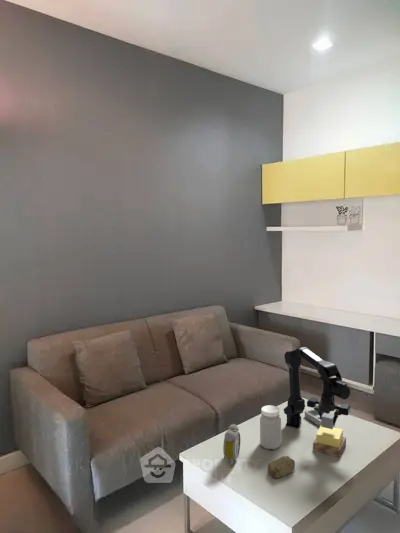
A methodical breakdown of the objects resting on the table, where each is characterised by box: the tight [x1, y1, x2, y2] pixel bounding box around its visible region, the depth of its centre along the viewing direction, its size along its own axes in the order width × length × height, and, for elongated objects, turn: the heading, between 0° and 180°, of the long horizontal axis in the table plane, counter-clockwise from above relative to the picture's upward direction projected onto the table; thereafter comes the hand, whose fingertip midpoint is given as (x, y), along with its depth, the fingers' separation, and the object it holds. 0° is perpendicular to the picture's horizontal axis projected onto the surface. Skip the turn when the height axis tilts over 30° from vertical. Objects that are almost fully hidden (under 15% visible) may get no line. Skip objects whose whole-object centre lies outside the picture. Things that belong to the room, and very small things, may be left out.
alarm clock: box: [222, 423, 241, 467], centre depth 181 cm, size 12×7×15 cm, turn 161°
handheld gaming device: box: [304, 408, 321, 427], centre depth 215 cm, size 9×15×4 cm, turn 24°
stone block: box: [267, 455, 296, 479], centre depth 172 cm, size 6×12×5 cm, turn 124°
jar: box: [259, 404, 282, 450], centre depth 192 cm, size 10×10×18 cm
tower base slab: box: [312, 436, 347, 458], centre depth 189 cm, size 12×12×4 cm
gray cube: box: [321, 412, 336, 429], centre depth 188 cm, size 5×5×5 cm
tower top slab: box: [315, 426, 344, 448], centre depth 189 cm, size 10×10×4 cm
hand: (328, 423), depth 188 cm, fingers closed on gray cube, 5 cm apart
